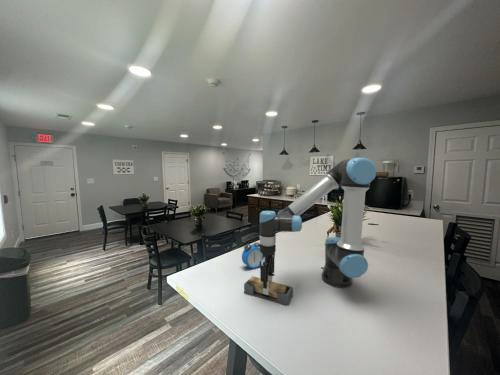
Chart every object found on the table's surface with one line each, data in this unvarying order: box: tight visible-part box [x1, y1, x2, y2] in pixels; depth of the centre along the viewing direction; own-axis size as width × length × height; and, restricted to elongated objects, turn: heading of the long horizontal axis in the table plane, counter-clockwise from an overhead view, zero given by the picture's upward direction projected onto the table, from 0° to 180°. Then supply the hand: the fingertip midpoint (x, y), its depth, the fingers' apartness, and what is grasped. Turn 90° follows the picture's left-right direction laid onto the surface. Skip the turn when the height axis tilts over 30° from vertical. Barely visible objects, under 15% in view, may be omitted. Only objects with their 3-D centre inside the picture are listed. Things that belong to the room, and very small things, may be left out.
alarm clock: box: [241, 242, 263, 270], centre depth 126 cm, size 13×6×15 cm, turn 119°
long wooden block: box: [247, 275, 287, 298], centre depth 96 cm, size 18×4×5 cm, turn 62°
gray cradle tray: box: [243, 279, 294, 307], centre depth 96 cm, size 22×8×5 cm, turn 62°
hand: (267, 291), depth 96 cm, fingers closed on long wooden block, 4 cm apart
